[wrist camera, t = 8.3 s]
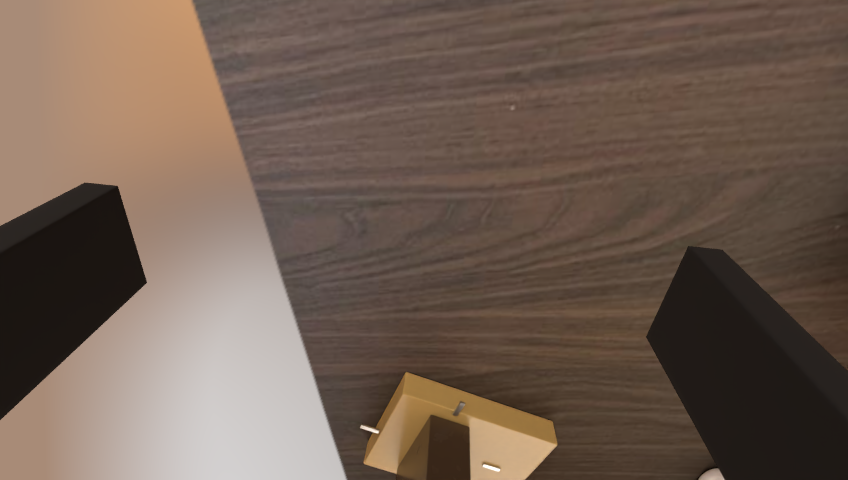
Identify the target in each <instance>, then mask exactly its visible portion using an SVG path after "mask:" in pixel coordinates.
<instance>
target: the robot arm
mask: <svg viewBox="0 0 848 480" xmlns="http://www.w3.org/2000/svg"><path fill="white" fill-rule="evenodd" d="M146 283H147V282H146V278H145V275H144V272H143V268H142V265H141V261H140V258H139V255H138V252H137V248H136V245H135V242H134V238H133V235H132V232H131V229H130V225H129V222H128V219H127V215H126V212H125V209H124V205H123V202H122V199H121V195H120V192H119V189H118V186H112V185H103V184H93V183H84V184H81V185H80V186H78V187H76V188H74V189H72V190H70V191H68V192H66V193H64V194H62V195H60V196H58V197H56V198H54V199H52V200H50V201H48V202H46V203H44V204H42V205H40V206H38V207H37V208H35V209H33V210H31V211H29V212H27V213H25V214H23V215H21V216H19V217H17V218H15V219H13V220H11V221H9V222H8V223H5V224H3V225H1V226H0V420H1V419H2V418H3V417H4V416H5V415H6V414H7V413H8V412H9V411H10V410H11V409H13V408H14V407H15V406H16V405H17V404H18V403H19V402H20V401H21V400H22V399H23V398H24V397H25V396H26V395H28V394H29V393H30V392H31V391H32V390H33V389H34V388H35V387H36V386H37V385H38V384H39V383H40V382H41V381H42V380H43V379H45V378H46V377H47V376H48V375H49V374H50V373H51V372H52V371H53V370H54V369H55V368H56V367H57V366H58V365H60V364H61V362H63V361H64V360H65V359H66V358H67V357H68V356H69V355H70V354H71V353H72V352H73V351H74V350H76V349H77V348H78V347H79V346H80V345H81V344H82V343H83V342H84V341H85V340H86V339H87V338H88V337H89V336H90V335H91V334H93V333H94V332H95V331H96V330H97V329H98V328H99V327H100V326H101V325H102V324H103V323H104V322H105V321H107V320H108V319H109V318H110V317H111V316H112V315H113V314H114V313H115V312H116V311H117V310H118V309H119V308H120V307H121V306H123V305H124V304H125V303H126V302H127V301H128V300H129V299H130V298H131V297H132V296H133V295H134V294H135V293H136V292H137V291H138V290H140V289H141V288H142V287H143V286H144V285H145V284H146ZM646 338H647V339H648V341H649V343H650V345H651V347H652V349H653V350H654V352H655V354H656V356H657V358H658V359H659V361H660V363H661V365H662V367H663V369H664V370H665V372H666V374H667V376H668V378H669V379H670V381H671V383H672V385H673V387H674V389H675V390H676V392H677V394H678V396H679V398H680V399H681V401H682V403H683V405H684V407H685V409H686V410H687V412H688V414H689V416H690V418H691V419H692V421H693V423H694V425H695V427H696V429H697V430H698V432H699V434H700V436H701V438H702V439H703V441H704V443H705V445H706V447H707V449H708V450H709V452H710V454H711V456H712V458H713V459H714V461H715V463H716V465H717V467H718V469H719V470H720V472H721V474H722V476H723V478H724V479H725V480H848V371H847V370H846V369H845V368H844V367H843V366H842V365H841V364H840V363H839V362H838V361H837V360H836V359H835V358H834V357H833V356H831V355H830V354H829V353H828V352H827V351H826V350H825V349H824V348H823V347H822V346H821V345H820V344H819V343H818V342H817V341H816V340H815V339H814V338H813V337H812V336H811V335H810V334H809V333H808V332H807V331H806V330H805V329H804V328H803V327H802V326H801V325H799V324H798V323H797V322H796V321H795V320H794V319H793V318H792V317H791V316H790V315H789V314H788V313H787V312H786V311H785V310H784V309H783V308H782V307H781V306H780V305H779V304H778V303H777V302H776V301H775V300H774V299H773V298H772V297H771V296H770V295H769V294H767V293H766V292H765V291H764V290H763V289H762V288H761V287H760V286H759V285H758V284H757V283H756V282H755V281H754V280H753V279H752V278H751V277H750V276H749V275H748V274H747V273H746V272H745V271H744V270H743V269H742V268H741V267H740V266H739V265H738V264H737V263H735V262H734V261H733V260H732V259H731V258H730V257H729V256H728V255H727V254H726V253H725V252H724V251H723V250H719V249H710V248H700V247H691V246H688V248H687V250H686V252H685V255H684V257H683V259H682V261H681V263H680V265H679V267H678V270H677V272H676V274H675V276H674V278H673V280H672V282H671V285H670V287H669V289H668V291H667V293H666V295H665V297H664V300H663V302H662V304H661V306H660V308H659V310H658V313H657V315H656V317H655V319H654V321H653V323H652V325H651V328H650V330H649V332H648V334H647V336H646Z"/></svg>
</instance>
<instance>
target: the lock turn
mask: <svg viewBox="0 0 848 480" xmlns="http://www.w3.org/2000/svg"><path fill="white" fill-rule="evenodd" d="M396 480H471V469H470V429H469V427H468V426H465V425H462V424H459V423H456V422H453V421H450V420H447V419H444V418H440V417H437V416H434V415H430V417H429V418H428V420H427V421H426V423H425V425H424V426H423V428H422V429H421V431H420V433H419V434H418V436H417V437H416V439H415V441H414V442H413V444H412V445H411V447H410V448H409V450H408V452H407V453H406V455H405V456H404V458H403V460H402V461H401V463H400V464H399V466H398V467H397V475H396Z"/></svg>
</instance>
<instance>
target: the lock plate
mask: <svg viewBox="0 0 848 480" xmlns="http://www.w3.org/2000/svg"><path fill="white" fill-rule="evenodd" d="M430 415H434V416H437V417H440V418H444V419H447V420H450V421H453V422H456V423H459V424H462V425H465V426H468V427H469V429H470V469H471V480H525V479H526V478H527V477H528V476H529V475H530V474H531V473H532V472H533V471H534V470H535V468H536V467H537V466H538V465H539V464H540V463H541V462H542V461H543V460H544V459H545V458H546V457H547V456H548V455H549V453H550V452H551V451H552V450H553V449H554V448H555V447H556V446H557V440H556V435H555V431H554V426H553V422H552V421H550V420H547V419H544V418H541V417H538V416H535V415H532V414H529V413H526V412H523V411H520V410H517V409H515V408H512V407H509V406H506V405H503V404H500V403H497V402H494V401H491V400H488V399H485V398H482V397H479V396H476V395H473V394H470V393H467V392H464V391H461V390H458V389H455V388H453V387H450V386H447V385H444V384H441V383H438V382H435V381H432V380H429V379H426V378H423V377H420V376H417V375H414V374H411V373H408V372H406V373H405V375H404V376H403V378H402V380H401V382H400V384H399V386H398V387H397V389H396V391H395V393H394V395H393V397H392V398H391V400H390V402H389V404H388V406H387V408H386V409H385V411H384V413H383V415H382V417H381V419H380V420H379V422H378V424H377V426H376V428H375V427H371V426H368V425H365V424H361V426H360V428H362V429H365V430H368V431H371V432H373V433H372V435H371V437H370V439H369V441H368V444H367V449H366V454H365V459H364V464H366V465H369V466H372V467H376V468H379V469H382V470H386V471H389V472H392V473H395V474H397V467H398V466H399V464H400V463H401V461H402V460H403V458H404V456H405V455H406V453H407V452H408V450H409V448H410V447H411V445H412V444H413V442H414V441H415V439H416V437H417V436H418V434H419V433H420V431H421V429H422V428H423V426H424V425H425V423H426V421H427V420H428V418H429V417H430Z"/></svg>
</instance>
